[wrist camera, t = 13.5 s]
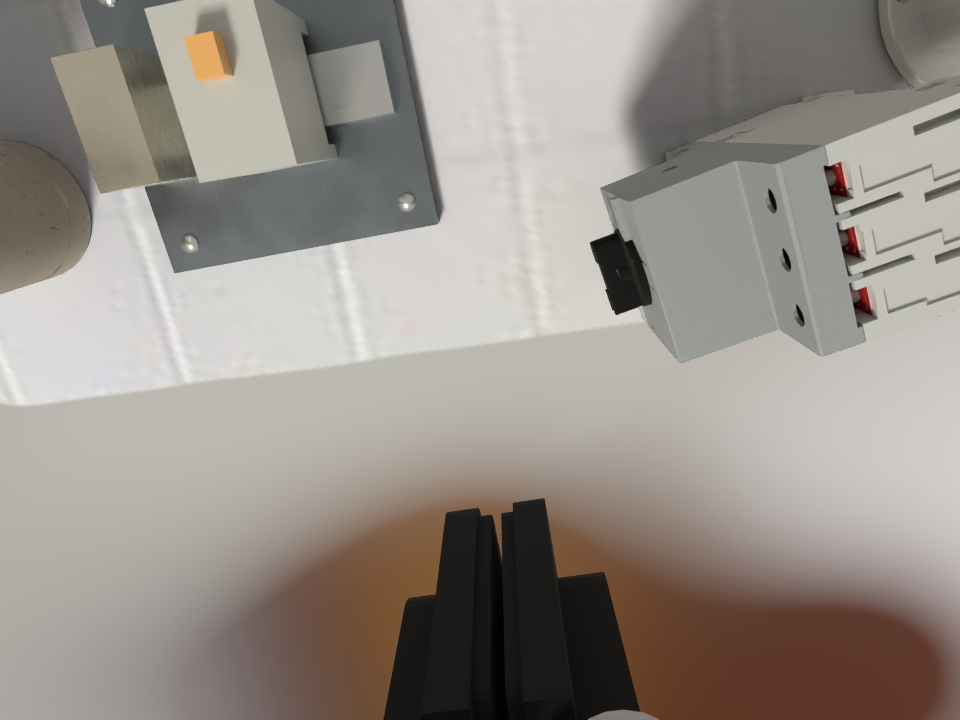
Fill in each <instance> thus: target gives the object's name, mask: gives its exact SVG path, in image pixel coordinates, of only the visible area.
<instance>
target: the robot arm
mask: <svg viewBox="0 0 960 720" xmlns="http://www.w3.org/2000/svg"><path fill="white" fill-rule="evenodd" d="M878 11H879V19H880V27H881V33H882V36H883V39H884V42H885V45H886V48H887V51H888V54H889V56H890V57H891V59H892V61H893V63H894V64H895V66H896V68H897V69H898V71H899V72H900V74H901V75H902V76H903V77H904V78H905V79H906V80H907V81H908V82H909V83H910V84H911V85H912V86H913V87H914V88H916V87H918V86H921V85H923V84H926V83H928V82H931V81H934V80H936V79H939V78H945V77H953V76H960V0H879V1H878ZM501 519H502V559H501V555H500V549H499V544H498V540H497V534H496V529H495V524H494V520H493V516H492V515H485V516H481V513H480V510H479V508H473V509H467V510H460V511H452V512H447V513H446V517H445V525H444V533H443V541H442V549H441V557H440V565H439V573H438V582H437V590H436V594H435V595H427V596H421V597H413V598H409V599H408V600H407V601H406V605H405V609H404V613H403V619H402V624H401V630H400V635H399V640H398V646H397V651H396V656H395V662H394V667H393V672H392V678H391V683H390V688H389V693H388V699H387V704H386V709H385V715H384V720H659V719H656V718H654V717H652V716H649V715H647V714H645V713H643V712H640V710H639V706H638V702H637V698H636V695H635V690H634V687H633V682H632V679H631V675H630V671H629V667H628V663H627V659H626V655H625V651H624V647H623V643H622V639H621V635H620V631H619V628H618V623H617V620H616V616H615V612H614V608H613V604H612V600H611V596H610V592H609V588H608V584H607V580H606V577H605V574H604V572H599V573H592V574H584V575H577V576H569V577H562V578H558V576H557V571H556V564H555V559H554V553H553V546H552V540H551V534H550V529H549V523H548V516H547V510H546V504H545V499H544V498H543V499H536V500H529V501H522V502H515V503H513V512H507V513H502V515H501Z"/></svg>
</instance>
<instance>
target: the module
mask: <svg viewBox="0 0 960 720" xmlns="http://www.w3.org/2000/svg"><path fill="white" fill-rule="evenodd" d="M144 10H145V13H146V16H147V19H148V22H149V25H150V29H151V32H152V35H153V38H154V41H155V44H156V48H157V51H158V54H159V57H160V60H161V63H162V66H163V70H164V73H165V76H166V79H167V82H168V85H169V89H170V92H171V95H172V98H173V101H174V104H175V107H176V111H177V114H178V117H179V120H180V123H181V126H182V129H183V133H184V136H185V139H186V142H187V145H188V148H189V152H190V155H191V158H192V161H193V164H194V167H195V170H196V174H197V177H198V180H199V183H204V182H210V181H216V180H222V179H228V178H234V177H240V176H246V175H252V174H258V173H264V172H269V171H274V170H279V169H284V168H290V167H295V166H300V165H305V164H310V163H315V162H320V161H326V160H331V159H336V158H338V155H337V151H336V147H335V144H328V140H327V136H326V132H325V128H324V124H323V120H322V116H321V112H320V108H319V103H318V99H317V95H316V91H315V87H314V83H313V79H312V75H311V71H310V67H309V63H308V59H307V55H306V51H305V47H304V43H303V39H302V37H303V36H308V33H307V29H306V25H305V21H304V19H302V18H301V17H299V16H298V15H296V14H294V13H293V12H291V11H289V10H288V9H286V8H285V7H283V6H281V5H280V4H278V3H277V2H275V1H273V0H182V1H177V2H172V3H168V4H163V5H159V6H154V7H149V8H145V9H144Z"/></svg>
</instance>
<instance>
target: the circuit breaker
mask: <svg viewBox="0 0 960 720" xmlns="http://www.w3.org/2000/svg"><path fill="white" fill-rule="evenodd" d="M800 99H801V102H799V103H796V104H787V105H782V106H780V107H777V108H775V109H772V110H770V111H767V112H765V113H762V114H760V115H757V116H755V117H752V118H750V119H747V120H745V121H742V122H740V123H737V124H735V125H732V126H730V127H727V128H725V129H722V130H720V131H718V132H715V133H713V134H710V135H708V136H705V137H703V138H700V139H698V140H695V141H693V142H690V143H688V144H685V145H683V146H680V147H678V148H675V149H673V150H670V151H668V152H665V153H664V154H665V158H666V162H664V163H661V164H659V165H656V166H654V167H651V168H649V169H646V170H644V171H641V172H639V173H636V174H634V175H631V176H629V177H626V178H624V179H621V180H619V181H616V182H614V183H611V184H609V185H606V186H604V187H601V188H600V190H601V193H602V196H603V199H604V202H605V205H606V208H607V211H608V214H609V217H610V220H611V223H612V226H613V229H614V233H613V234H611V235H608V236H605V237H603V238H600V239H597V240H595V241H592V242H590V245H591V249H592V252H593V255H594V258H595V261H596V262H597V263H598V264H599V267H600V270H601V273H602V276H603V279H604V282H605V285H606V288H607V289H606V293H607V296H608V299H609V302H610V305H611V308H612V310H614V312H615V314H616V315H618V314H621V313H624V312H626V311H629V310H632V309H635V308H637V307H639V309H640V312H641V315H642V318H643V320H644V321H645V322H646V323H647V324H648V325H649V327H650V328H651V329H652V331H653V332H654V333H655V334H656V335H657V337H658V338H659V339H660V340H661V341H662V343H663V344H664V345H665V346H666V348H668V350H669V351H670V352H671V354H672V355H673V356H674V357H675V358H677V359H678V361H679V363H684V362H686V361H689V360H692V359H695V358H698V357H701V356H703V355H706V354H709V353H712V352H715V351H718V350H721V349H723V348H726V347H729V346H732V345H735V344H738V343H740V342H743V341H746V340H749V339H752V338H754V337H758V336H760V335H763V334H766V333H769V332H772V331H774V330H781V331H783V332H784V333H786V334H788V335H789V336H791V337H792V338H793V339H795V340H796V341H798V342H800V343H801V344H803V345H804V346H805V347H807V348H808V349H810V350H811V351H813V352H814V353H816V354H817V355H819V356H826V355H829V354H832V353H835V352H837V351H841V350H844V349H846V348H850V347H852V346H855V345H858V344H861V343H864V342H865V341H870V340H873V339H876V338H879V337H882V336H884V335H887V334H890V333H893V332H896V331H899V330H902V329H905V328H908V327H911V326H914V325H916V324H919V323H922V322H925V321H928V320H931V319H934V318H937V317H940V316H942V315H946V314H948V313H951V312H954V311H957V310H960V76H953V77H945V78H939V79H936V80H934V81H931V82H928V83H926V84H923V85H921V86H918V87H916V88H909V89H900V90H891V91H882V92H874V93H865V94H856V95H854V90H853V89H852V90H844V91H836V92H828V93H822V94H819V95H817V96H814V97H812V95H807V96H805V97H802V98H800Z"/></svg>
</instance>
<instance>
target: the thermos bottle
mask: <svg viewBox="0 0 960 720" xmlns="http://www.w3.org/2000/svg"><path fill="white" fill-rule="evenodd" d="M90 234H91V218H90V211H89V207H88V204H87V201H86V198H85V196H84V194H83V192H82V190H81V188H80V186H79V184H78V183H77V181H76V180H75V179H74V177H73V176H72V175H71V173H70V172H69V171H68V170H67V169H66V168H65V167H64V166H63V165H62V164H61V163H60V162H59V161H57V160H56V159H54V158H53V157H52V156H50V155H49V154H47V153H46V152H44V151H42V150H40V149H38V148H36V147H33V146H31V145H28V144H24V143H20V142H15V141H0V294H3V293H6V292H9V291H12V290H15V289H18V288H21V287H24V286H28V285H31V284H34V283H37V282H40V281H43V280H46V279H49V278H52V277H55V276H58V275H60V274H63V273H65V272H66V271H68V270H69V269H71V268H72V267H74V266H75V264H76V263H77V262H78V261H79V260H80V259H81V258H82V256H83V254H84V252H85V251H86V249H87V246H88V243H89V239H90Z"/></svg>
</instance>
